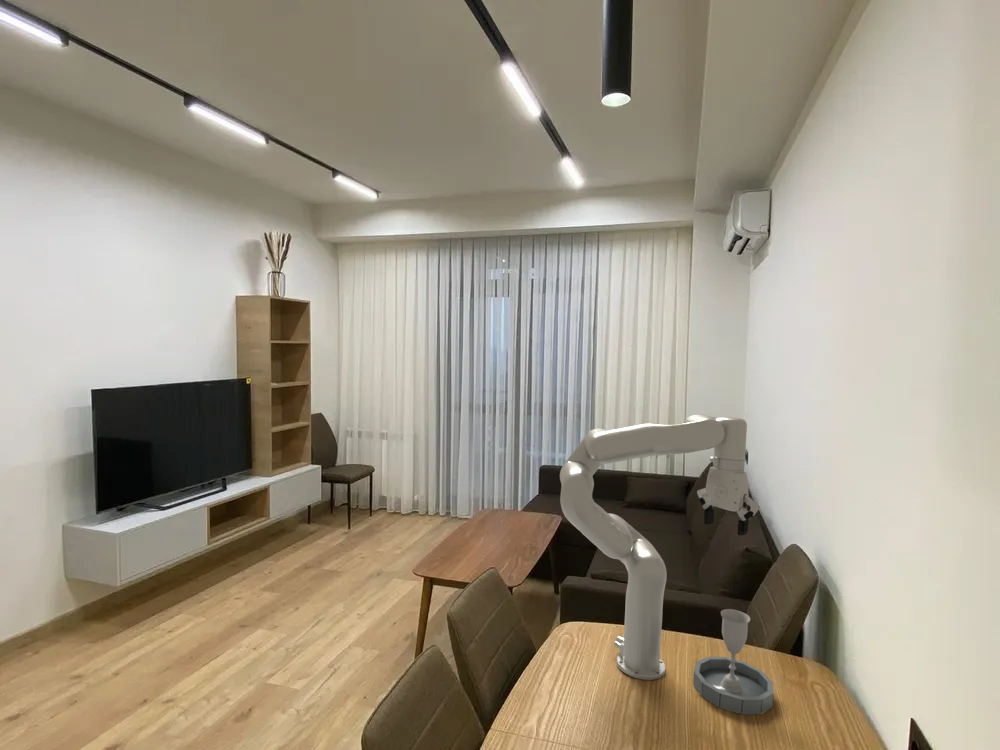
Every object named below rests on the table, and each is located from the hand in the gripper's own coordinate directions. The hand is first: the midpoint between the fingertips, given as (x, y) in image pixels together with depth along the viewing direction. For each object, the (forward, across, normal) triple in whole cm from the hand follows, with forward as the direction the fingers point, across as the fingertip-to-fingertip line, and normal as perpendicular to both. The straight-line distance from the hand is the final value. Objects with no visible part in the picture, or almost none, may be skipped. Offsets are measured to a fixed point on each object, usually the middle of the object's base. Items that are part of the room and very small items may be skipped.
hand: (725, 529), depth 143 cm
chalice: (+38, +7, -4) cm, 38 cm away
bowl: (+38, +7, -4) cm, 39 cm away
